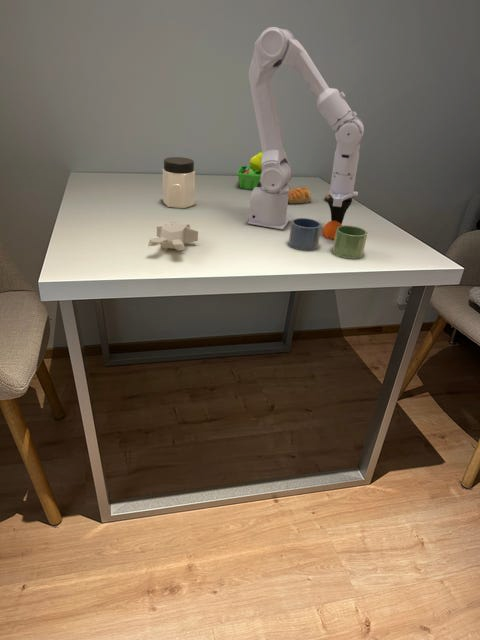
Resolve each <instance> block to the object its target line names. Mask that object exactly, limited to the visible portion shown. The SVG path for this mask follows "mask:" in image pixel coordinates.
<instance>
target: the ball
mask: <svg viewBox="0 0 480 640" xmlns="http://www.w3.org/2000/svg"><path fill="white" fill-rule="evenodd" d="M339 226H343V224H341V223H339V222H338V221H331V220H330V221H328V222H327V223H325V224H324V226H323V229H322V233H323V236H324V237H325V238H326V239H329V240H334V239H335V234H336V229H337V227H339Z"/></svg>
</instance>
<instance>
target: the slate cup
mask: <svg viewBox="0 0 480 640" xmlns="http://www.w3.org/2000/svg"><path fill="white" fill-rule="evenodd" d="M322 225H323V224H322V223H321V222H320V221H318V220H316V219H312V218H307V217H299V218H298V217H297V218H293V219H291V221H290V228H289V237H288V245H289V246H290V247H291V248H293V249H295V250H300V251H306V252H307V251H314V250H317V249H318V248H319V243H320V237H321V231H322Z"/></svg>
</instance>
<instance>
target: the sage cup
mask: <svg viewBox="0 0 480 640" xmlns="http://www.w3.org/2000/svg"><path fill="white" fill-rule="evenodd" d="M367 236H368V231H367V230H366V229H364V228H363V227H359V226H355V225H348V224H347V225H345V224H343V225H342V226H339V227H337V229H336V234H335V239H333V245H332V253H333V254H334V255H335V256H337V257H340V258H343V259H349V260H357V259H360V258H362V257H363V255H364V250H365V246H366V242H367Z"/></svg>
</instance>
